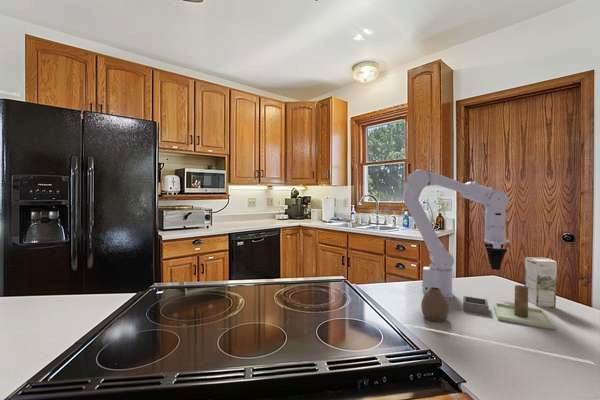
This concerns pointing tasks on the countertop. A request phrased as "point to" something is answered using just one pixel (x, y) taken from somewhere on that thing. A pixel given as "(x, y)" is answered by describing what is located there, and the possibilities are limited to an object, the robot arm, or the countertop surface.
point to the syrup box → (541, 281)
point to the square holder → (475, 305)
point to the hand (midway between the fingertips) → (494, 267)
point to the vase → (435, 305)
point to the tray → (534, 317)
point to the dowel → (521, 301)
